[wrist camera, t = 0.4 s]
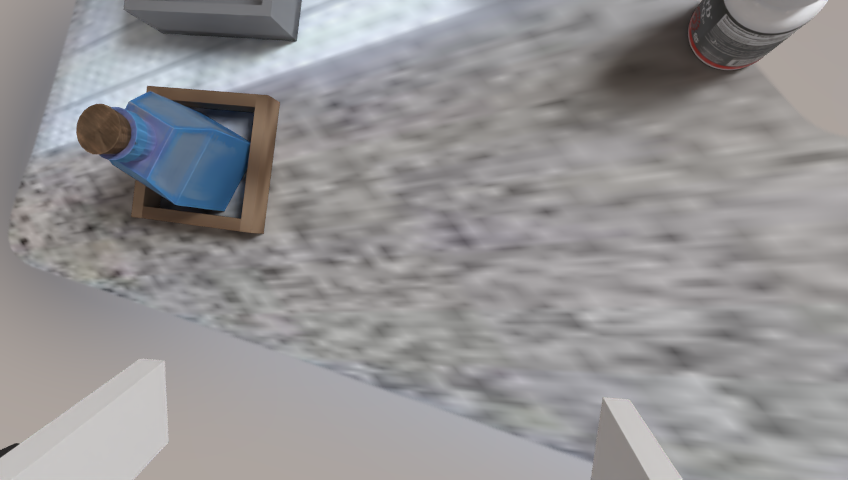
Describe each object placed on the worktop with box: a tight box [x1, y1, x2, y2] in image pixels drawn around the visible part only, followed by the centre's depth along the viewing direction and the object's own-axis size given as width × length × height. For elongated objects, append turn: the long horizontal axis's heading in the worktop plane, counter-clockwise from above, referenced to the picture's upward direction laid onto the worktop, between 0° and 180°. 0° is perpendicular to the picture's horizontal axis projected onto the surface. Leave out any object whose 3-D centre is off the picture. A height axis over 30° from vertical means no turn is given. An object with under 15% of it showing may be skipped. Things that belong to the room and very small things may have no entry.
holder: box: [131, 86, 280, 234], centre depth 42 cm, size 11×11×2 cm
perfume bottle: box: [76, 91, 251, 211], centre depth 37 cm, size 6×6×12 cm
